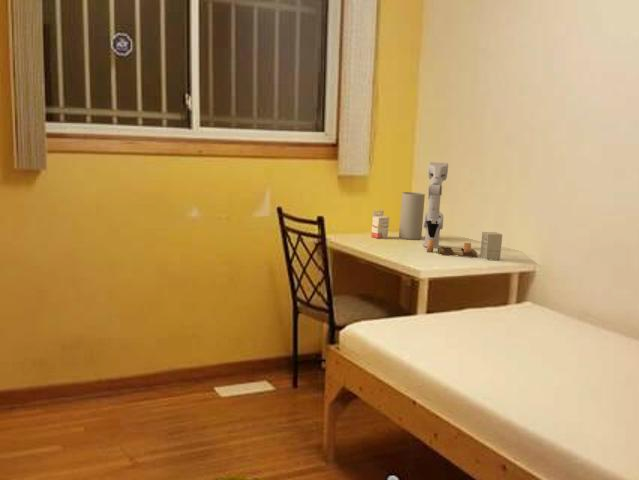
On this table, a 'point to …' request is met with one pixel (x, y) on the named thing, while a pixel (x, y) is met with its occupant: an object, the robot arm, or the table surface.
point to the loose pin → (430, 245)
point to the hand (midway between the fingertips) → (431, 236)
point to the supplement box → (491, 245)
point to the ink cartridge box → (379, 225)
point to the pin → (467, 247)
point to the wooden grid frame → (456, 251)
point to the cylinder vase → (411, 215)
